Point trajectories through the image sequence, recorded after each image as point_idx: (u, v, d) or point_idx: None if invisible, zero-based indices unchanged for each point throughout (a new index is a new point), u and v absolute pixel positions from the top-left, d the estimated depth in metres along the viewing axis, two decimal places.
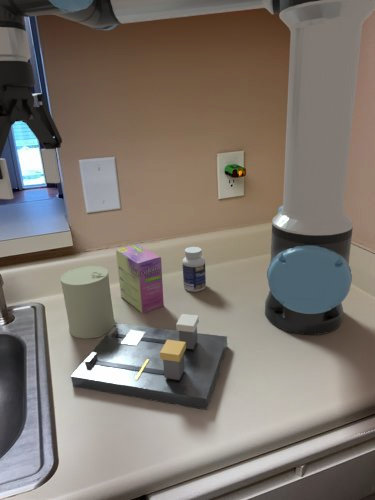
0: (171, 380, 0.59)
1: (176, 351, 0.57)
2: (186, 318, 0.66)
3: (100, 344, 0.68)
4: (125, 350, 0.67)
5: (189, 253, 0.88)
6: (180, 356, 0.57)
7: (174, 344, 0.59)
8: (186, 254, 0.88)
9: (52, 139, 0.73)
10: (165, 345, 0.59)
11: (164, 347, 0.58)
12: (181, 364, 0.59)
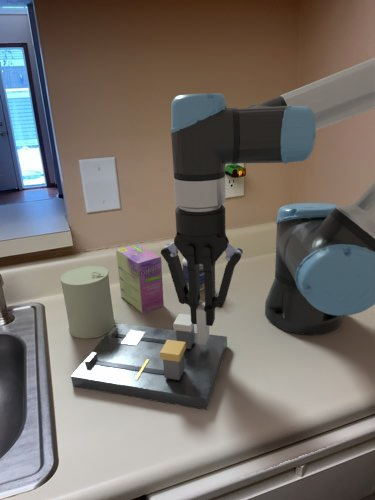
0: (171, 380, 0.59)
1: (176, 351, 0.57)
2: (183, 318, 0.66)
3: (100, 344, 0.68)
4: (125, 350, 0.67)
5: None
6: (180, 356, 0.57)
7: (174, 344, 0.59)
8: None
9: (209, 300, 0.61)
10: (165, 345, 0.59)
11: (164, 347, 0.58)
12: (181, 364, 0.59)
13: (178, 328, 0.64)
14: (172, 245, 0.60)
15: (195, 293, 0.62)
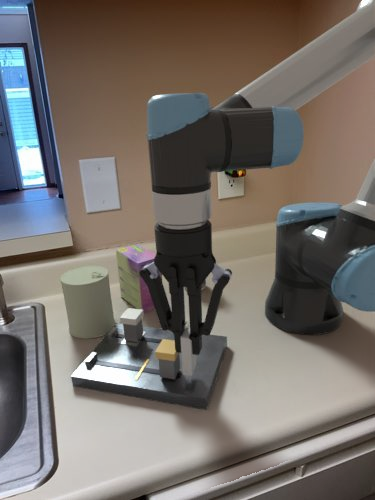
0: (171, 380, 0.59)
1: (171, 351, 0.57)
2: (130, 312, 0.68)
3: (100, 344, 0.68)
4: (125, 350, 0.67)
5: None
6: (175, 355, 0.57)
7: (169, 343, 0.59)
8: None
9: (195, 326, 0.54)
10: (160, 344, 0.59)
11: (160, 346, 0.58)
12: (176, 363, 0.59)
13: (124, 322, 0.67)
14: (152, 265, 0.53)
15: (179, 319, 0.54)
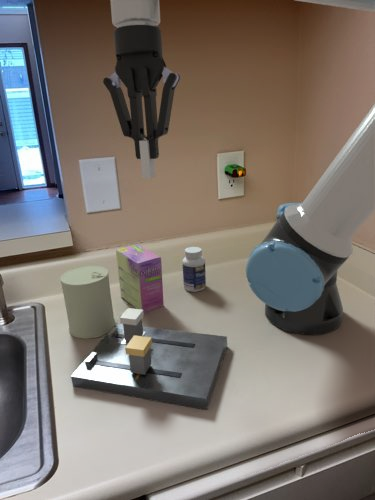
0: (171, 380, 0.59)
1: (141, 346, 0.58)
2: (130, 312, 0.68)
3: (100, 344, 0.68)
4: None
5: (189, 253, 0.88)
6: (145, 351, 0.58)
7: (140, 339, 0.60)
8: (186, 254, 0.88)
9: (150, 128, 0.64)
10: (131, 340, 0.60)
11: (130, 342, 0.60)
12: (147, 359, 0.60)
13: (124, 322, 0.67)
14: (114, 74, 0.64)
15: (137, 123, 0.65)
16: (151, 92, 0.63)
